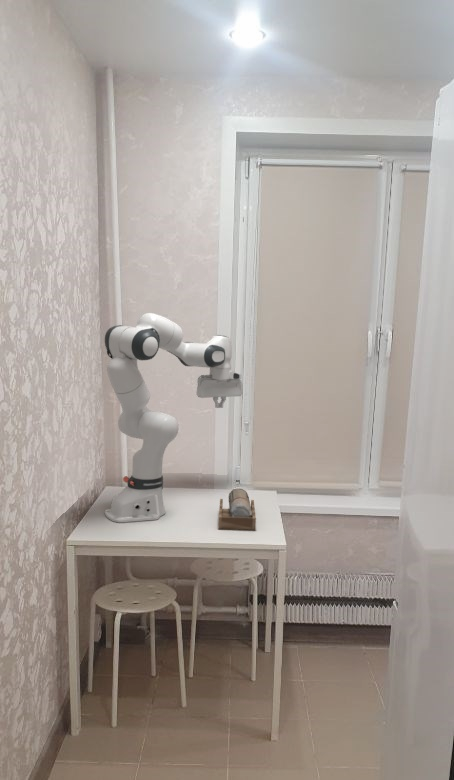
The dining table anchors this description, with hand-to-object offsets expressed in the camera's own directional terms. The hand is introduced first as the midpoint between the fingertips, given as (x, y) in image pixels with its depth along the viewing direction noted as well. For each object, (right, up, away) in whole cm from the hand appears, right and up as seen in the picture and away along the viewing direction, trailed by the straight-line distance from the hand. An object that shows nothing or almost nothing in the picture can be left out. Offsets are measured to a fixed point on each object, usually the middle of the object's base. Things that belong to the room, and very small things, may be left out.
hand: (219, 407), depth 250 cm
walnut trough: (+7, -41, -28) cm, 50 cm away
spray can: (+8, -35, -15) cm, 39 cm away
